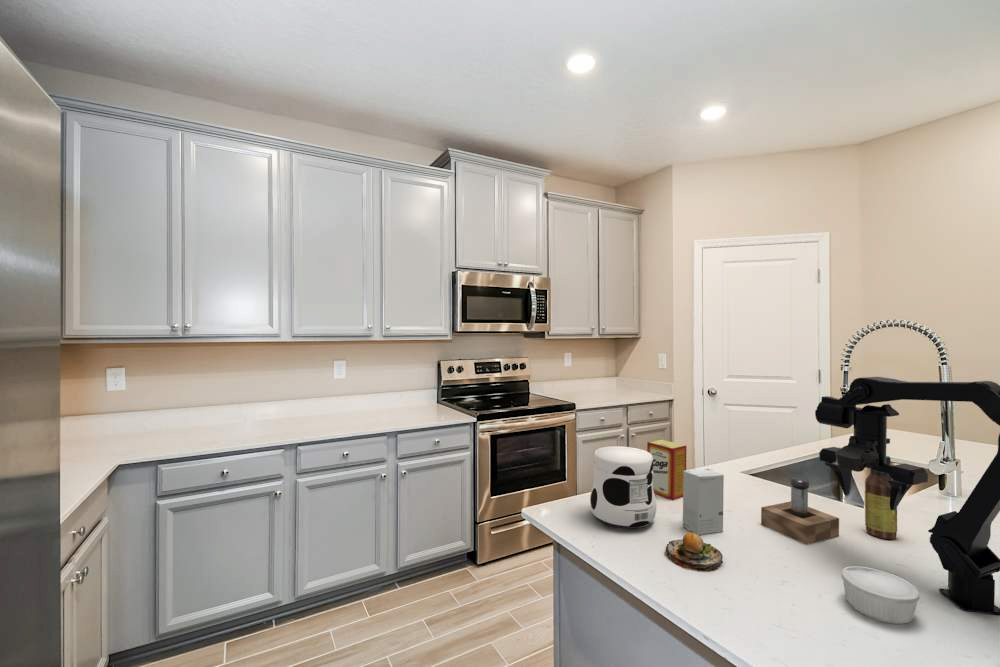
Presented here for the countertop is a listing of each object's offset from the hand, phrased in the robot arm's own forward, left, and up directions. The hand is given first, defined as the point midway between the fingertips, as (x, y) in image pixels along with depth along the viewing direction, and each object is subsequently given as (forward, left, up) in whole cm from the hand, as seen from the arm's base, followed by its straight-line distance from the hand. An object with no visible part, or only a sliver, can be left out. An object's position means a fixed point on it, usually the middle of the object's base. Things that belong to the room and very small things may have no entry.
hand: (868, 502), depth 101 cm
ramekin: (-20, +8, -13) cm, 25 cm away
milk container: (+9, +53, -13) cm, 55 cm away
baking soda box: (+32, +39, -13) cm, 52 cm away
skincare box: (+8, +33, -13) cm, 36 cm away
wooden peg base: (+13, +9, -13) cm, 20 cm away
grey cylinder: (+13, +9, -13) cm, 20 cm away
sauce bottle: (+15, -10, -13) cm, 22 cm away
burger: (-8, +38, -14) cm, 41 cm away
